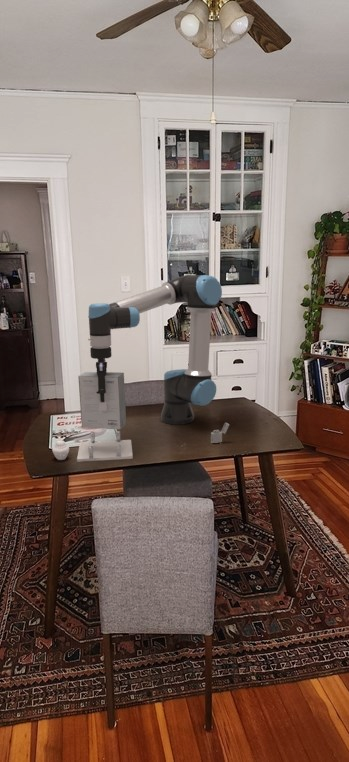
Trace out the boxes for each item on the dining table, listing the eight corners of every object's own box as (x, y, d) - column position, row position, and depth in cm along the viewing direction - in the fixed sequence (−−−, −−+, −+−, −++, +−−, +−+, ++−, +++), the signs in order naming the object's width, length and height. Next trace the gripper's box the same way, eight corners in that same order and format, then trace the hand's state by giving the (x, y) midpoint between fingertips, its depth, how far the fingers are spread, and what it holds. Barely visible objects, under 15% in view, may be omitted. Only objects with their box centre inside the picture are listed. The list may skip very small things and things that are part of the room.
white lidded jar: (49, 460, 178) (48, 442, 176) (59, 454, 183) (57, 436, 182) (64, 462, 176) (62, 444, 174) (73, 456, 181) (72, 438, 180)
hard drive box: (126, 423, 186) (125, 372, 181) (120, 430, 178) (118, 377, 174) (88, 421, 189) (85, 371, 184) (80, 427, 181) (77, 375, 177)
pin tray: (131, 442, 196) (130, 430, 194) (132, 458, 179) (132, 445, 177) (80, 444, 193) (79, 432, 192) (77, 461, 176) (76, 448, 175)
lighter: (212, 444, 192) (212, 424, 191) (210, 442, 194) (210, 423, 192) (229, 442, 194) (229, 423, 192) (227, 441, 196) (228, 422, 194)
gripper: (91, 342, 187) (94, 399, 192) (88, 351, 166) (91, 415, 171) (111, 342, 188) (113, 398, 193) (110, 351, 167) (113, 414, 172)
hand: (103, 406), depth 182 cm, fingers closed on hard drive box, 9 cm apart
